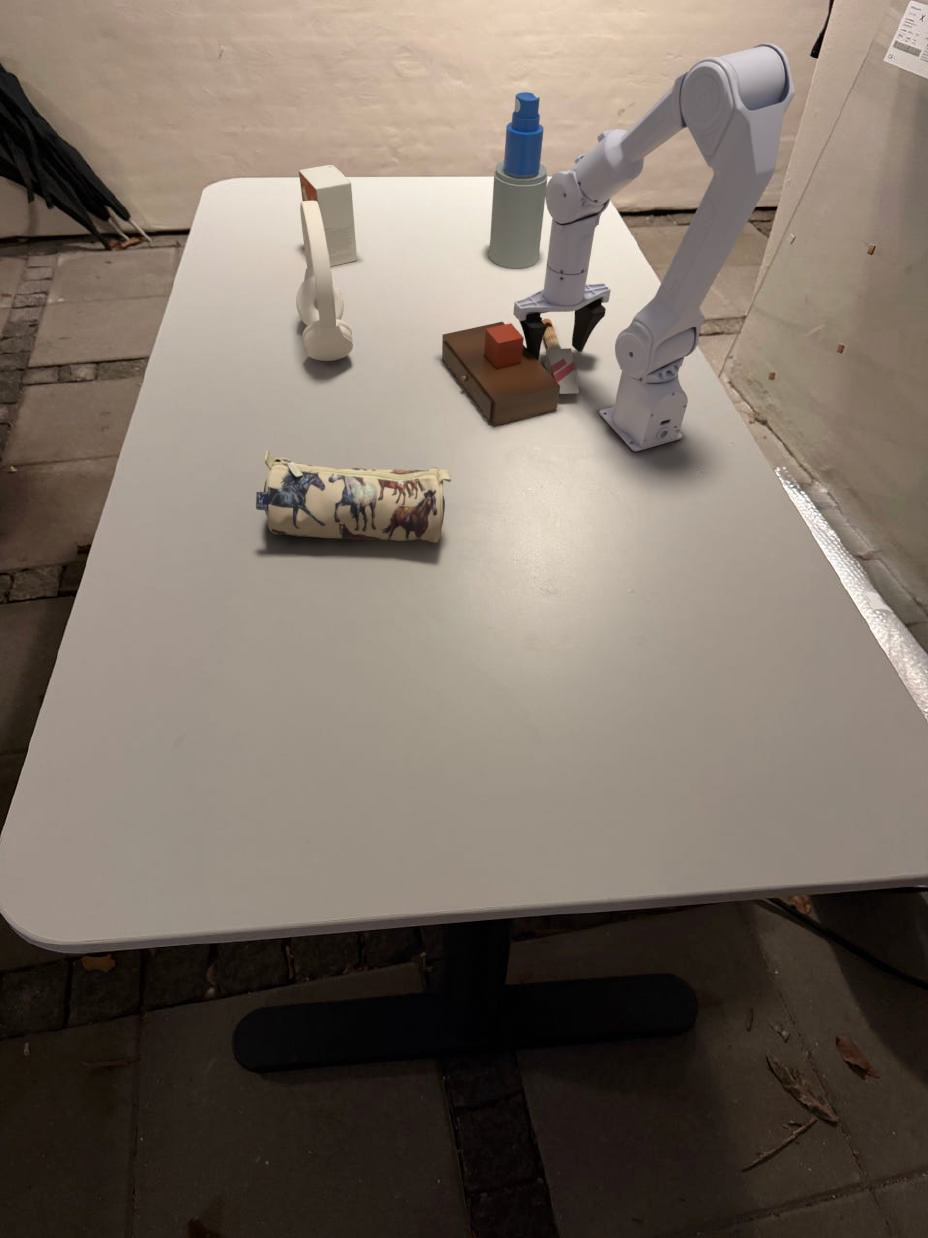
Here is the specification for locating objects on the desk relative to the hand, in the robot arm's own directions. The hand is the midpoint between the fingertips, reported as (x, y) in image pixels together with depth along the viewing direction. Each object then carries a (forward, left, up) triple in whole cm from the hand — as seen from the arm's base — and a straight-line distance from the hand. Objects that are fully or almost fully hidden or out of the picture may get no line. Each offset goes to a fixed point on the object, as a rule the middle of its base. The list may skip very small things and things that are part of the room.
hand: (555, 353), depth 116 cm
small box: (+45, +20, -2) cm, 49 cm away
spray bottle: (+33, -10, -2) cm, 34 cm away
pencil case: (-22, +39, -2) cm, 45 cm away
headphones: (+18, +30, -2) cm, 35 cm away
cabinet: (-1, +10, -2) cm, 10 cm away
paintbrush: (0, -1, -2) cm, 2 cm away
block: (-1, +9, +2) cm, 10 cm away
